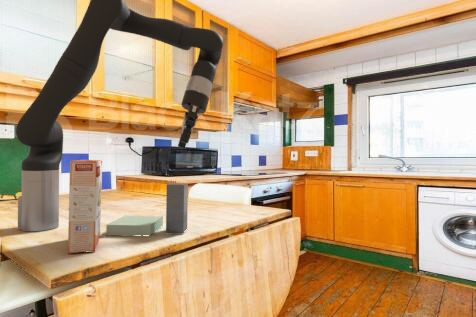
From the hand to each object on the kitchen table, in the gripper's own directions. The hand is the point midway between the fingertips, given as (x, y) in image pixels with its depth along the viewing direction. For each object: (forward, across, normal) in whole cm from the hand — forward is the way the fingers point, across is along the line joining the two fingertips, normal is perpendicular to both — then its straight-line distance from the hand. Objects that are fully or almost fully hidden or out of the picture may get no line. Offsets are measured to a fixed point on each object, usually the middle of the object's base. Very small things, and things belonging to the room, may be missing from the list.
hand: (182, 145), depth 84 cm
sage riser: (+27, -8, -6) cm, 29 cm away
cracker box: (+32, +3, -16) cm, 35 cm away
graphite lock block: (+24, -4, +6) cm, 25 cm away
